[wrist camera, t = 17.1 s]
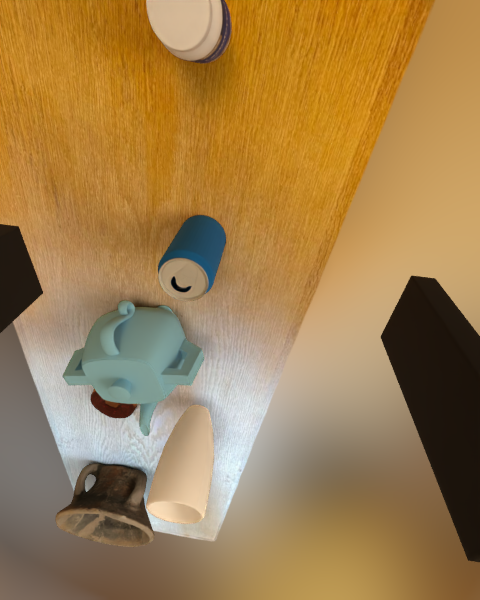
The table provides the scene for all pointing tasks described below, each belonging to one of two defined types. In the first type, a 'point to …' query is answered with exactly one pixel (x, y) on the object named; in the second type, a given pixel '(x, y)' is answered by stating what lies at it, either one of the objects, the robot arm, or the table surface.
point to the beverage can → (192, 259)
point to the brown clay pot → (109, 507)
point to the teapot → (135, 358)
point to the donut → (112, 407)
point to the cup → (184, 470)
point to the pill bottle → (191, 27)
